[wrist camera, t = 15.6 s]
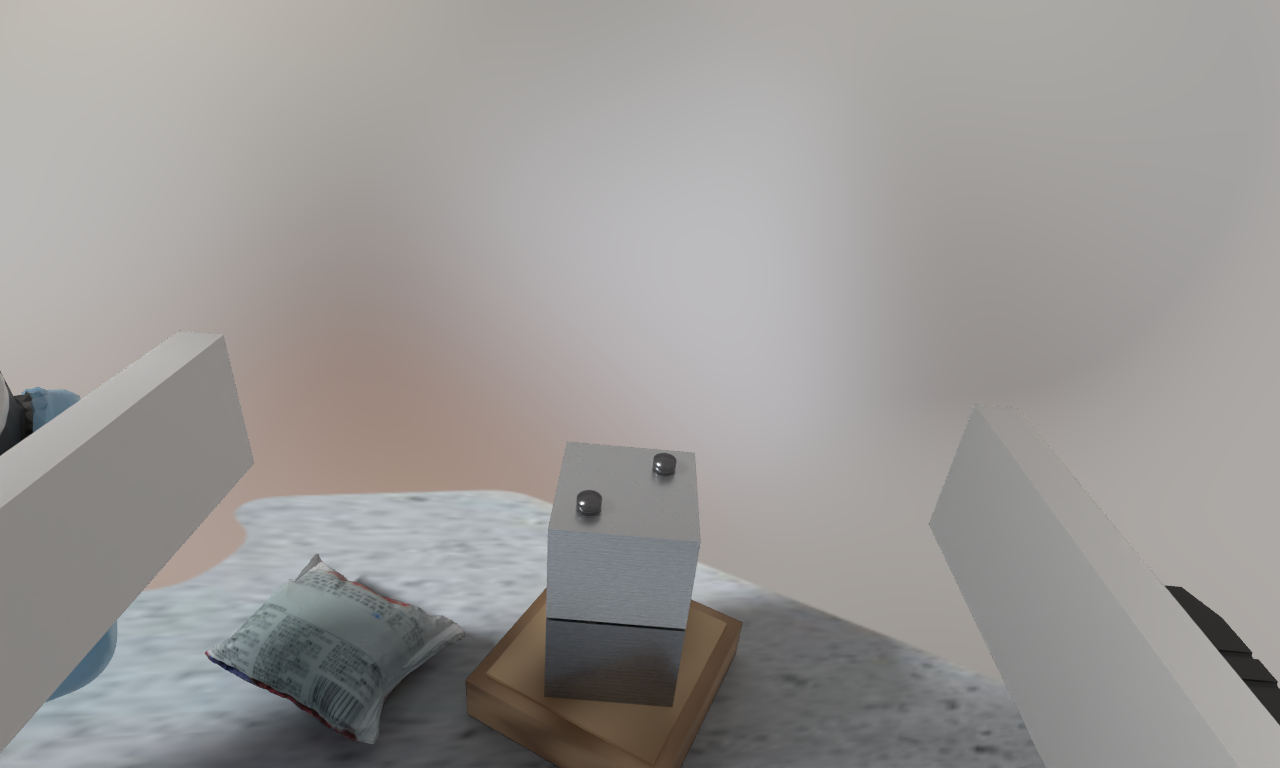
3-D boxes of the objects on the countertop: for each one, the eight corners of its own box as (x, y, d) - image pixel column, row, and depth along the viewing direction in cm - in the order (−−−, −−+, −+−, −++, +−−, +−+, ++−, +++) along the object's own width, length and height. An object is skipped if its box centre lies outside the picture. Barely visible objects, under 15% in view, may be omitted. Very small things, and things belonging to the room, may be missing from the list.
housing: (544, 696, 38) (548, 518, 31) (560, 598, 44) (567, 432, 37) (672, 707, 38) (702, 532, 31) (671, 607, 44) (696, 443, 38)
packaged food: (325, 583, 48) (313, 529, 45) (468, 652, 44) (464, 597, 41) (209, 682, 41) (187, 625, 38) (368, 774, 37) (355, 718, 34)
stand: (467, 713, 40) (465, 677, 38) (577, 581, 49) (579, 547, 48) (654, 822, 36) (660, 786, 34) (735, 654, 45) (743, 619, 43)
